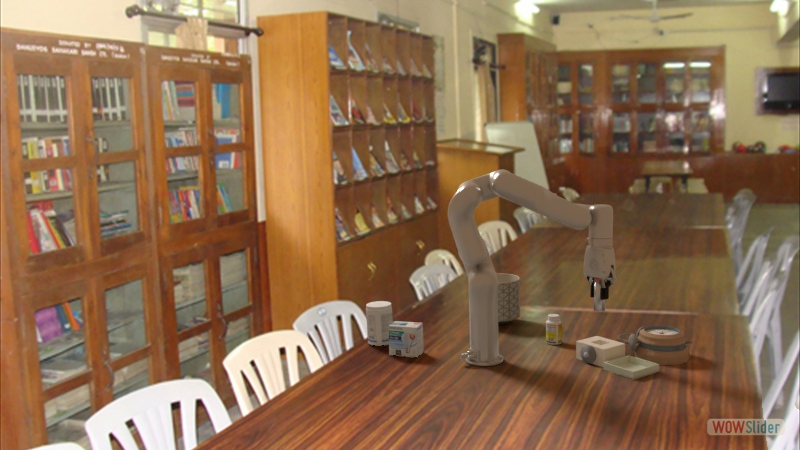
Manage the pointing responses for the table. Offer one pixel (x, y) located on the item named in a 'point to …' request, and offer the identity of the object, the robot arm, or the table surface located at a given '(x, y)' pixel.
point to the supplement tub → (378, 322)
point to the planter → (508, 298)
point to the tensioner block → (599, 350)
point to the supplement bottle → (553, 330)
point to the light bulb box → (406, 339)
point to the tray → (631, 367)
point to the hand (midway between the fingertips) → (599, 297)
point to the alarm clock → (659, 345)
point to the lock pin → (598, 296)
